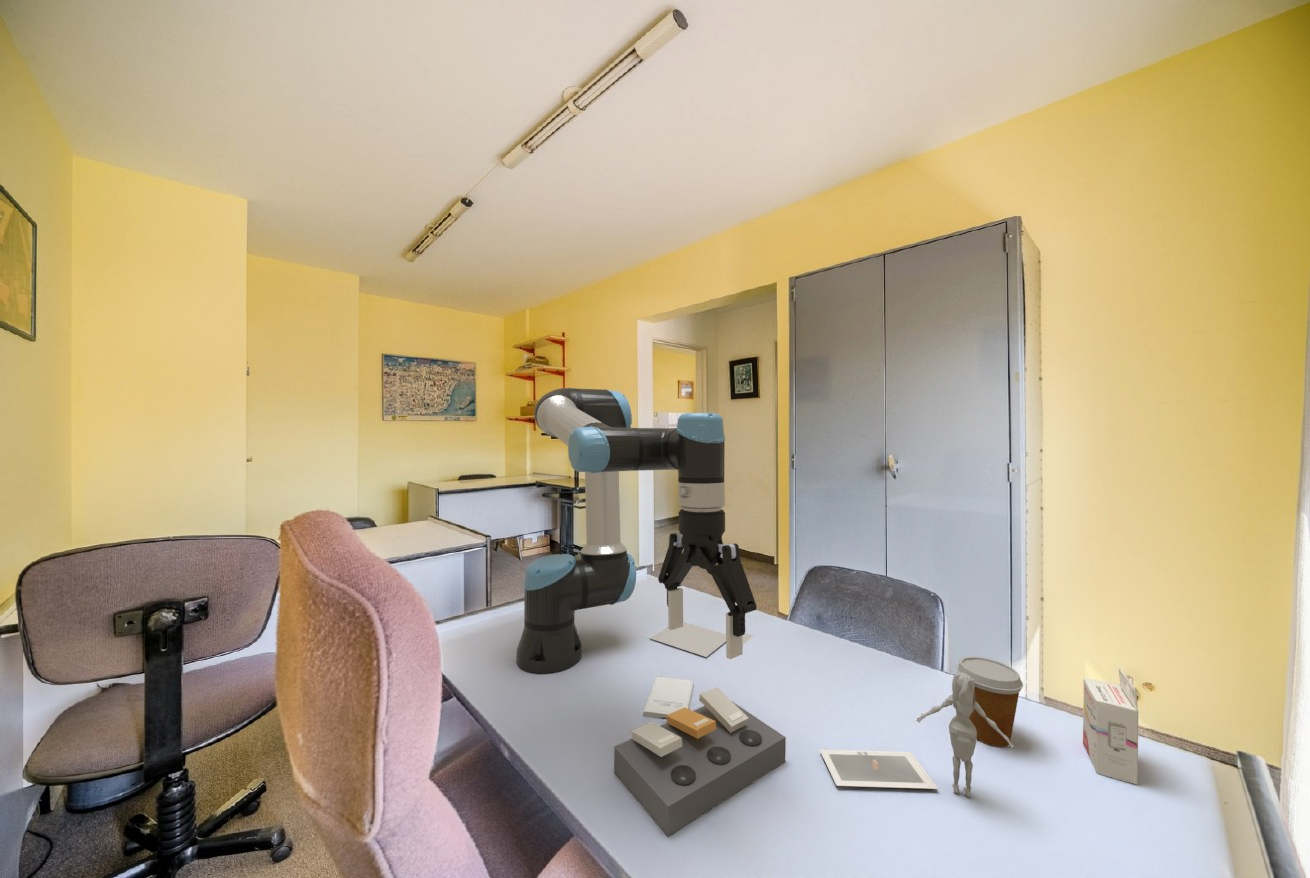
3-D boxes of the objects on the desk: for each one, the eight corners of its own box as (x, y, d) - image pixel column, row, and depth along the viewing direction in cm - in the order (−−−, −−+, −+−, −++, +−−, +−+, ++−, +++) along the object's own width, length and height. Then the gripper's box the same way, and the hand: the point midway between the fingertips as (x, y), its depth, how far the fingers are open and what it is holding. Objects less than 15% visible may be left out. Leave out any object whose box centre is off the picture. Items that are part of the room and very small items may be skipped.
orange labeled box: (667, 723, 77) (666, 714, 77) (685, 714, 79) (684, 706, 79) (697, 738, 70) (696, 728, 70) (716, 729, 73) (715, 719, 73)
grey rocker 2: (699, 699, 81) (700, 693, 80) (715, 692, 83) (716, 685, 83) (730, 733, 74) (731, 725, 74) (747, 724, 76) (748, 716, 76)
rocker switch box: (614, 772, 71) (614, 744, 71) (724, 717, 85) (724, 694, 85) (667, 836, 60) (668, 804, 60) (785, 761, 74) (785, 735, 74)
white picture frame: (938, 796, 68) (938, 781, 68) (836, 792, 68) (836, 778, 68) (910, 758, 75) (910, 745, 75) (819, 756, 76) (819, 743, 76)
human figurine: (1010, 802, 66) (1012, 679, 66) (1015, 821, 63) (1017, 692, 62) (915, 771, 72) (916, 658, 72) (915, 787, 69) (917, 669, 68)
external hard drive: (693, 688, 96) (686, 724, 84) (655, 683, 98) (642, 719, 86) (693, 680, 96) (686, 716, 84) (655, 676, 98) (642, 710, 86)
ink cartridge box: (1080, 742, 79) (1081, 658, 79) (1120, 753, 76) (1121, 666, 76) (1094, 774, 72) (1096, 681, 72) (1139, 787, 69) (1141, 691, 69)
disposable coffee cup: (1004, 761, 74) (1005, 688, 74) (944, 727, 83) (945, 662, 83) (1033, 743, 79) (1034, 674, 79) (973, 713, 87) (974, 651, 87)
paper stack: (695, 612, 136) (695, 610, 136) (776, 634, 122) (776, 631, 122) (649, 640, 117) (649, 638, 117) (738, 670, 103) (738, 667, 103)
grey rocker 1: (632, 739, 73) (631, 729, 73) (652, 729, 75) (651, 720, 75) (661, 757, 66) (660, 746, 66) (682, 746, 68) (681, 736, 69)
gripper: (638, 503, 81) (639, 623, 81) (744, 520, 61) (746, 678, 61) (670, 500, 86) (671, 613, 85) (779, 514, 66) (781, 662, 65)
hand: (703, 641), depth 73 cm, fingers open, 13 cm apart
